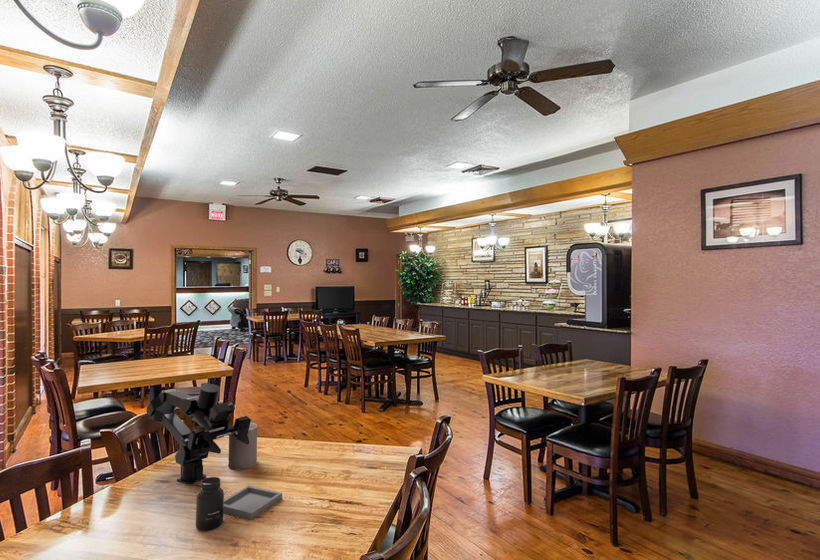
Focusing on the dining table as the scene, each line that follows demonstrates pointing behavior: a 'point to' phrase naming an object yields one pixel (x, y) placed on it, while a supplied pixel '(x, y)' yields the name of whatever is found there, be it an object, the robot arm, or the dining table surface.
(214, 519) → the supplement bottle
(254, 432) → the pillar candle
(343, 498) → the dining table surface
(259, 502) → the tray
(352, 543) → the dining table surface
